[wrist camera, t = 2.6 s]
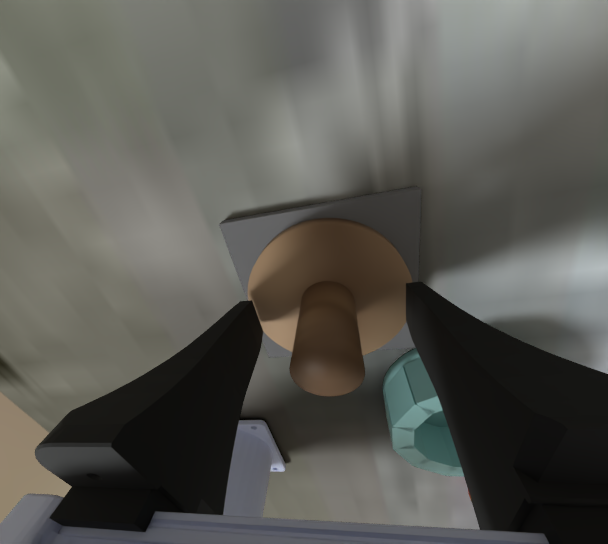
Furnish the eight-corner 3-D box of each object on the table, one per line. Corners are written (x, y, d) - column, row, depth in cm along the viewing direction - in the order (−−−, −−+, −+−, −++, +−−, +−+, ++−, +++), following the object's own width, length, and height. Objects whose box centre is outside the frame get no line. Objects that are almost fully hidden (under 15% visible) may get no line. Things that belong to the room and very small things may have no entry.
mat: (270, 350, 16) (268, 357, 16) (223, 220, 12) (219, 224, 11) (413, 340, 15) (416, 347, 14) (417, 186, 10) (421, 188, 10)
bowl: (384, 425, 19) (394, 474, 16) (379, 342, 15) (390, 390, 12) (513, 423, 18) (548, 478, 15) (547, 330, 13) (605, 381, 11)
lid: (274, 351, 15) (252, 436, 11) (232, 232, 12) (173, 290, 7) (407, 341, 14) (442, 435, 10) (408, 203, 10) (466, 253, 6)
